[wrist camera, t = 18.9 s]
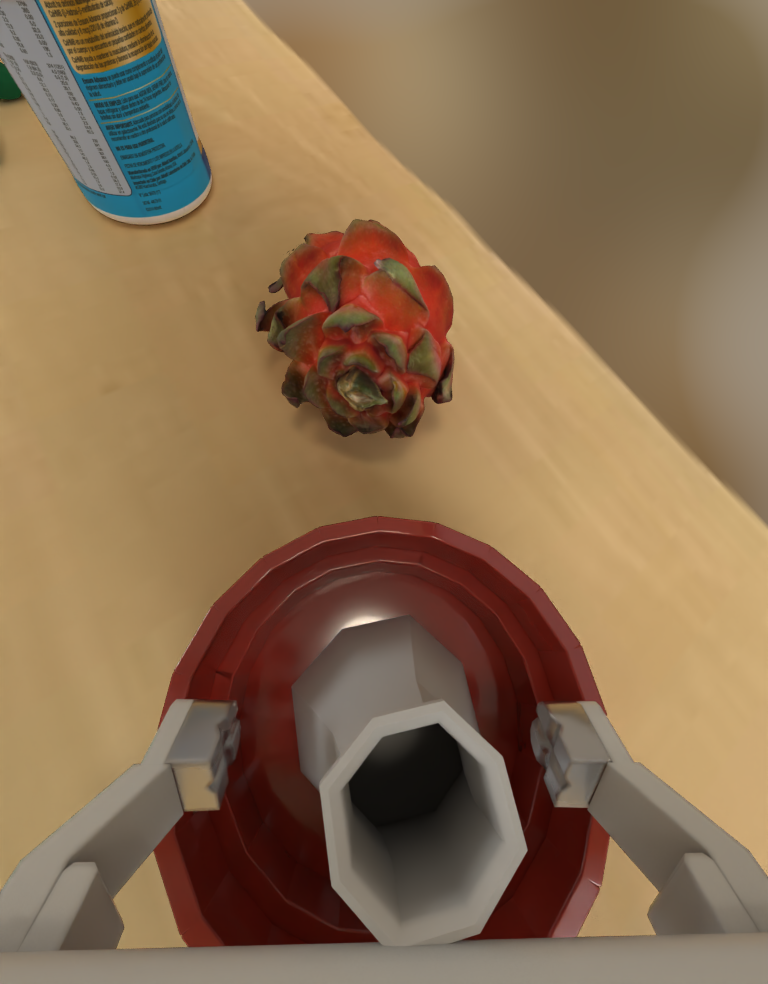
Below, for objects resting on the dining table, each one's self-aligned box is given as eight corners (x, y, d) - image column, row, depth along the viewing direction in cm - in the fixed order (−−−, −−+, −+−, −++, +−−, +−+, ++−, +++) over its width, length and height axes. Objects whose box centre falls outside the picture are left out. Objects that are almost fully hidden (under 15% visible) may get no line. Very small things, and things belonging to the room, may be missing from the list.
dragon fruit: (386, 498, 21) (325, 351, 26) (529, 401, 18) (426, 256, 23) (257, 450, 14) (210, 265, 20) (452, 277, 11) (331, 113, 16)
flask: (347, 875, 14) (318, 1379, 4) (261, 676, 16) (117, 724, 6) (512, 750, 15) (751, 920, 6) (415, 585, 17) (478, 517, 8)
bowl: (172, 904, 14) (72, 1040, 9) (255, 534, 18) (218, 497, 14) (549, 939, 14) (645, 1091, 9) (533, 565, 19) (591, 538, 14)
